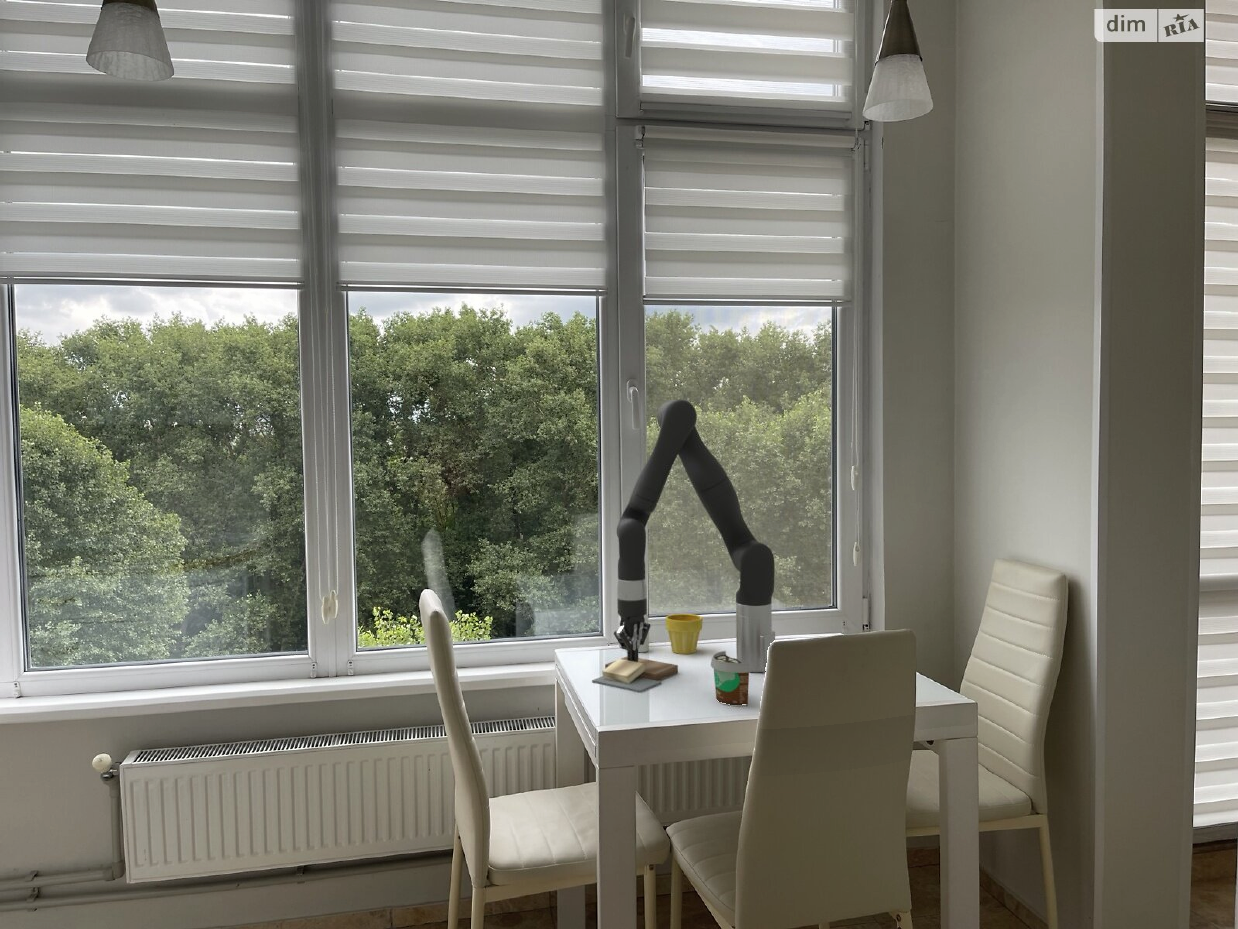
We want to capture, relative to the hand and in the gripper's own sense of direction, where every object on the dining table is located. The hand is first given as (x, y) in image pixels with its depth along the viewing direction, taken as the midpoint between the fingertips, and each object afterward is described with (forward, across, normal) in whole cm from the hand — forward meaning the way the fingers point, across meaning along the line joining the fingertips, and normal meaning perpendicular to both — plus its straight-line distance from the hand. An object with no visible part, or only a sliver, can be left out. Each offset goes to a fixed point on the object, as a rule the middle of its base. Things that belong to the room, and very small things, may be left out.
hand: (633, 663), depth 220 cm
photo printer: (+3, +21, +16) cm, 27 cm away
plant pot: (+3, +28, +3) cm, 28 cm away
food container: (+3, -4, -30) cm, 31 cm away
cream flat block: (+2, -4, 0) cm, 5 cm away
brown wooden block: (+3, +3, 0) cm, 5 cm away
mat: (+3, -6, -3) cm, 8 cm away
